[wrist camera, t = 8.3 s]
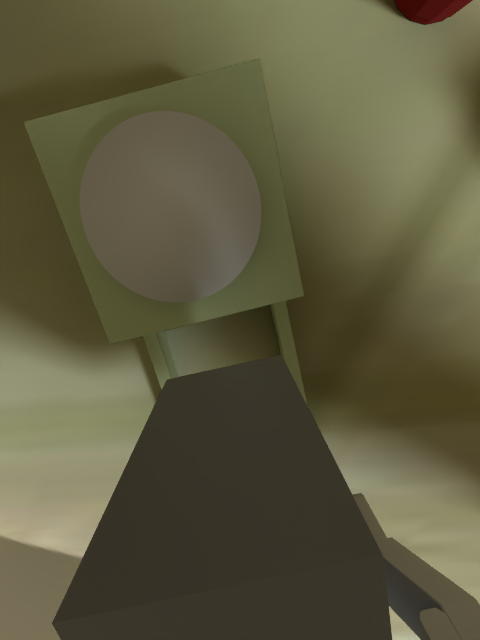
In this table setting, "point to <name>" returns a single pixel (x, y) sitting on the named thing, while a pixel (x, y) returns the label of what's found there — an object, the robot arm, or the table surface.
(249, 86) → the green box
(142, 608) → the tall grey box
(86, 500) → the table surface
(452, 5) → the plastic cup
